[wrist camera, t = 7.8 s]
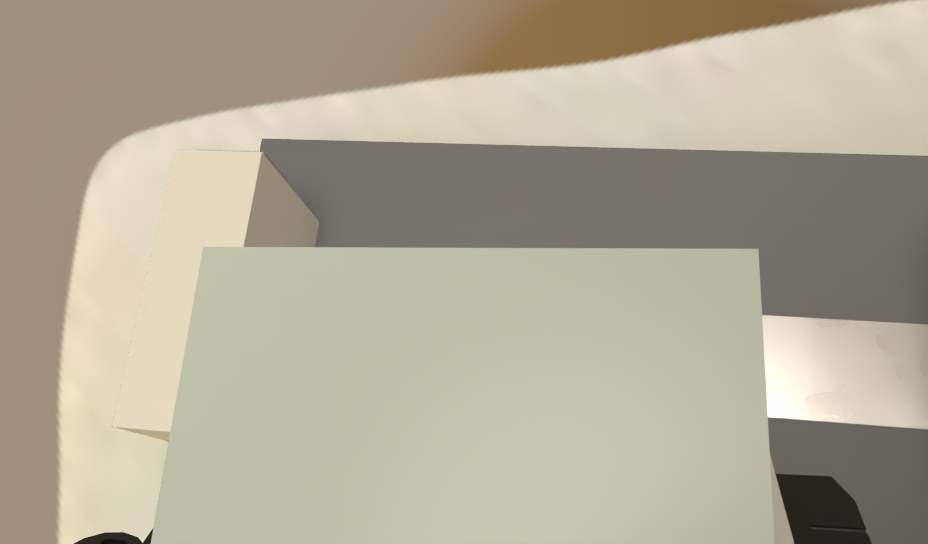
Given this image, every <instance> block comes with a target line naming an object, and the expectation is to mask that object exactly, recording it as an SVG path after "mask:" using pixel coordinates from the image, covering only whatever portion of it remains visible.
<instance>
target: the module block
mask: <svg viewBox="0 0 928 544" xmlns="http://www.w3.org/2000/svg"><path fill="white" fill-rule="evenodd" d="M151 544H775V539H774V521H773V503H772V485H771V467H770V449H769V431H768V413H767V395H766V377H765V359H764V341H763V323H762V305H761V287H760V269H759V251H758V249H673V248H379V247H203V251H202V257H201V262H200V268H199V273H198V279H197V285H196V290H195V296H194V302H193V307H192V313H191V319H190V324H189V330H188V336H187V341H186V347H185V353H184V358H183V364H182V369H181V375H180V381H179V386H178V392H177V398H176V403H175V409H174V415H173V420H172V426H171V432H170V437H169V443H168V448H167V454H166V460H165V465H164V471H163V477H162V482H161V488H160V494H159V499H158V505H157V511H156V516H155V522H154V528H153V533H152V539H151Z"/></svg>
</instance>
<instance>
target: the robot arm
mask: <svg viewBox="0 0 928 544" xmlns="http://www.w3.org/2000/svg"><path fill="white" fill-rule="evenodd" d="M770 467H771V485H772V503H773V521H774V539H775V544H872V543H871V540H870V537H869V535H868V534H866V527H865V524H864V522H863V519H862V517H861V514H860V512H859V509H858V506H857V504H856V501H855V500H854V499H853V498H852V497H851V496H850V495H849V494H848V493H847V492H846V491H845V490H844V489H843V488H842V487H841V486H840V485H839V484H838V483H837V482H836V481H835V480H834V479H833V478H832V476H814V475H793V474H775V471H774V467H773V464H772V460H771V456H770ZM152 533H153V529H152V531H151V532H150V534H149V535H148V536H147V538H146V539H145V541H144V542H143V543H142V542H141V541H140V540H139V538H138V537H135V536H132V535H129V534H127V533H124V532H119V533H102V534H98V535H95V536H91V537H87V538H84V539H82V540H80V541H78V542H76V543H74V544H151V539H152Z"/></svg>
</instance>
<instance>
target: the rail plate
mask: <svg viewBox="0 0 928 544" xmlns="http://www.w3.org/2000/svg"><path fill="white" fill-rule="evenodd" d="M203 247H379V248H673V249H758V251H759V269H760V287H761V305H762V323H763V341H764V359H765V377H766V395H767V413H768V431H769V449H770V456H771V460H772V464H773V467H774V471H775V474H793V475H814V476H832V478H833V479H834V480H835V481H836V482H837V483H838V484H839V485H840V486H841V487H842V488H843V489H844V490H845V491H846V492H847V493H848V494H849V495H850V496H851V497H852V498H853V499H854V500H855V501H856V504H857V506H858V509H859V512H860V514H861V517H862V519H863V522H864V524H865V527H866V534H868V535H869V537H870V540H871V543H872V544H928V156H906V155H868V154H829V153H791V152H752V151H713V150H675V149H636V148H598V147H559V146H521V145H482V144H444V143H405V142H367V141H328V140H289V139H262V142H261V147H260V152H255V151H220V150H175V152H174V156H173V161H172V165H171V170H170V174H169V178H168V183H167V187H166V191H165V196H164V200H163V205H162V209H161V213H160V218H159V222H158V226H157V231H156V235H155V240H154V244H153V248H152V253H151V257H150V261H149V266H148V270H147V275H146V279H145V283H144V288H143V292H142V296H141V301H140V305H139V310H138V314H137V318H136V323H135V327H134V331H133V336H132V340H131V345H130V349H129V353H128V358H127V362H126V366H125V371H124V375H123V380H122V384H121V388H120V393H119V397H118V401H117V406H116V410H115V415H114V419H113V423H112V427H115V428H119V429H123V430H127V431H131V432H135V433H138V434H142V435H146V436H150V437H154V438H158V439H162V440H166V441H169V437H170V432H171V426H172V420H173V415H174V409H175V403H176V398H177V392H178V386H179V381H180V375H181V369H182V364H183V358H184V353H185V347H186V341H187V336H188V330H189V324H190V319H191V313H192V307H193V302H194V296H195V290H196V285H197V279H198V273H199V268H200V262H201V257H202V251H203Z"/></svg>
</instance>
